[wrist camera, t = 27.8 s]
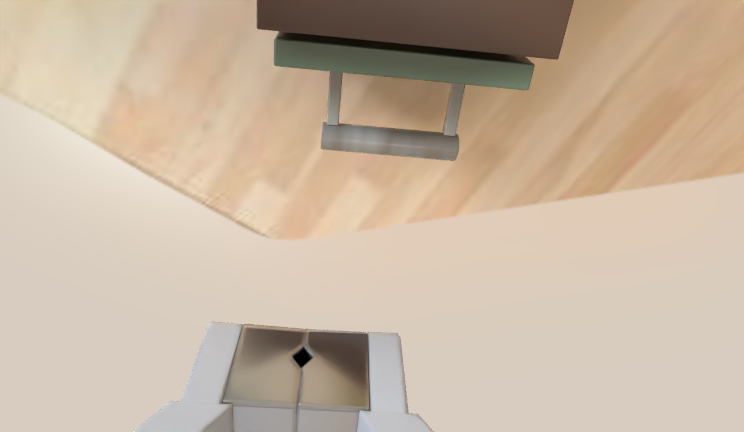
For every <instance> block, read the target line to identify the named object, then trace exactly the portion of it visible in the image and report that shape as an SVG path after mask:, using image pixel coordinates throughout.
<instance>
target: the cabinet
mask: <svg viewBox="0 0 744 432" xmlns="http://www.w3.org/2000/svg"><path fill="white" fill-rule="evenodd" d="M573 1H574V0H257V29H262V30H272V31H282V32H292V33H301V34H311V35H321V36H331V37H341V38H350V39H360V40H370V41H380V42H390V43H399V44H409V45H419V46H429V47H439V48H449V49H458V50H468V51H478V52H488V53H498V54H507V55H517V56H527V57H537V58H547V59H558V57H559V53H560V50H561V46H562V42H563V38H564V35H565V31H566V27H567V24H568V20H569V16H570V12H571V9H572V5H573Z"/></svg>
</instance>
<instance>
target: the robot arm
mask: <svg viewBox="0 0 744 432" xmlns="http://www.w3.org/2000/svg"><path fill="white" fill-rule="evenodd" d="M132 432H433V431H432V429H431V428H430V427H429V426H428V425H427V424H426V423H425V422H424V420H423V419H422V418H421V417H420V416H419V415H418V414H409V413H408V404H407V395H406V386H405V377H404V367H403V358H402V348H401V339H400V336H399V335H398V333H381V332H368V333H366V332H351V331H350V332H349V331H331V330H315V329H299V328H288V327H275V326H264V325H253V324H244V325H242V324H234V323H222V322H212V323H211V324H210V325H209V326H208V328H207V330H206V333H205V335H204V338H203V341H202V344H201V347H200V350H199V353H198V356H197V358H196V361H195V364H194V367H193V369H192V373H191V375H190V378H189V381H188V384H187V386H186V389H185V392H184V395H183V398H182V401H181V402H179V401H171V402H169V403H168V404H167V405H165V406H164V407H163V408H162V409H160V410H159V411H158V412H157V413H155V414H154V415H153V416H151V417H150V418H149V419H148V420H146V421H145V422H144V423H142V424H141V425H140V426H139V427H137V428H136V429H135V430H134V431H132Z"/></svg>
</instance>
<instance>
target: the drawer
mask: <svg viewBox="0 0 744 432" xmlns="http://www.w3.org/2000/svg"><path fill="white" fill-rule="evenodd" d="M274 65H275V66H281V67H292V68H302V69H312V70H323V71H330V80H329V95H328V110H327V122H323V125H322V137H321V149H322V150H334V151H345V152H357V153H369V154H380V155H392V156H403V157H415V158H426V159H438V160H450V161H455V160H456V158H457V155H458V149H459V137H458V134H456V130H457V125H458V119H459V114H460V109H461V104H462V98H463V93H464V88H465V84H467V85H477V86H487V87H498V88H508V89H518V90H528V89H529V86H530V82H531V78H532V74H533V70H534V64H533V63H532V62H531V61H530V60H529V59H528V58H526V57H525V56H517V55H507V54H498V53H488V52H478V51H468V50H458V49H449V48H439V47H429V46H419V45H409V44H399V43H390V42H380V41H370V40H360V39H350V38H341V37H331V36H321V35H311V34H301V33H292V32H282V31H279V33H278V34H277V36H276V38H275V40H274ZM342 73H354V74H364V75H374V76H384V77H395V78H405V79H415V80H426V81H436V82H446V83H451V87H450V93H449V99H448V104H447V110H446V115H445V121H444V127H443V133H440V132H429V131H418V130H407V129H396V128H385V127H374V126H363V125H352V124H341V123H339V112H340V99H341V86H342Z"/></svg>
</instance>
